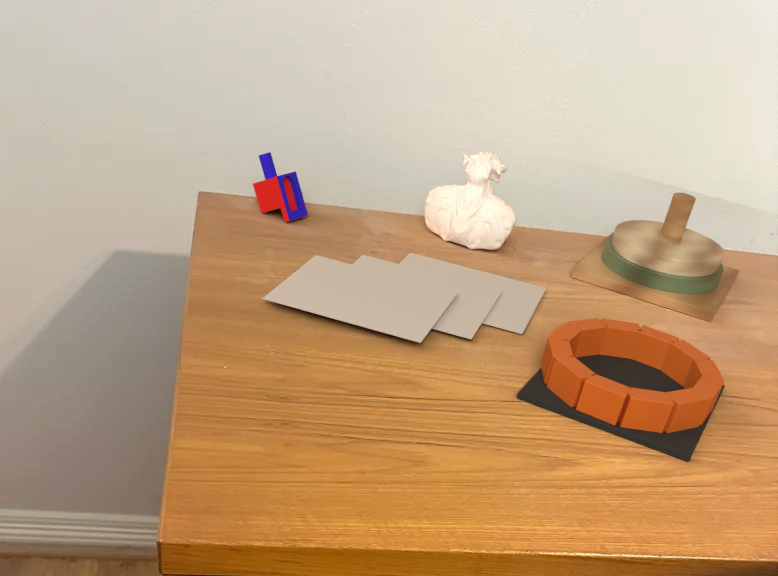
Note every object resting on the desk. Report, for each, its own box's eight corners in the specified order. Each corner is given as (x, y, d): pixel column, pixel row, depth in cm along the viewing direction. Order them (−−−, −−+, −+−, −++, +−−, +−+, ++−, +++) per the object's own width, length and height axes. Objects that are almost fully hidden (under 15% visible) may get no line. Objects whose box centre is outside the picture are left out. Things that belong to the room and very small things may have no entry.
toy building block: (284, 221, 109) (265, 155, 106) (308, 215, 107) (289, 146, 104) (265, 227, 107) (245, 159, 104) (289, 221, 104) (269, 151, 101)
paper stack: (345, 235, 104) (345, 230, 103) (546, 288, 99) (547, 282, 99) (261, 304, 86) (262, 298, 86) (502, 372, 81) (504, 365, 81)
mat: (722, 390, 85) (725, 385, 85) (688, 462, 73) (691, 456, 73) (570, 338, 90) (572, 333, 89) (516, 398, 78) (517, 392, 78)
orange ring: (728, 387, 84) (740, 359, 82) (681, 453, 73) (694, 423, 71) (578, 331, 90) (587, 304, 88) (514, 385, 79) (522, 355, 77)
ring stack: (736, 279, 110) (768, 199, 104) (710, 322, 98) (745, 235, 92) (609, 240, 115) (633, 163, 109) (570, 277, 103) (594, 192, 97)
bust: (506, 269, 108) (542, 185, 108) (497, 246, 101) (535, 155, 100) (421, 242, 112) (455, 160, 111) (406, 218, 105) (443, 130, 104)
